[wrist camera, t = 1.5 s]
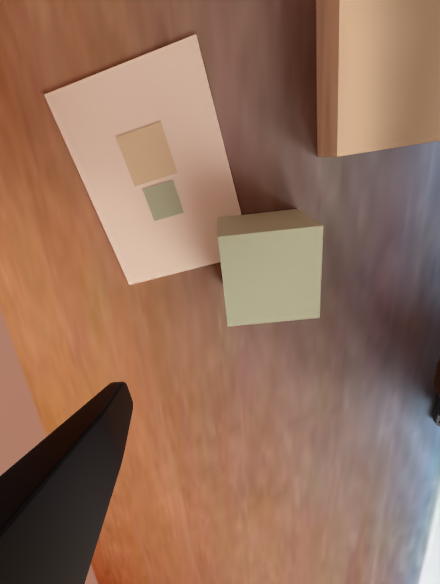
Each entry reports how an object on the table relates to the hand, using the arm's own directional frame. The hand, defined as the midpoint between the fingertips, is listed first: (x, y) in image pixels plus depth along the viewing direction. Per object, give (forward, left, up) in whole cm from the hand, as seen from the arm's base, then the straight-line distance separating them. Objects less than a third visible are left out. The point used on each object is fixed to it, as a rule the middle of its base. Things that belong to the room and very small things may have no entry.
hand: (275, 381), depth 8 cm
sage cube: (0, 0, -12) cm, 12 cm away
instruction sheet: (+6, -5, -12) cm, 15 cm away
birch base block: (-7, -9, -13) cm, 17 cm away
